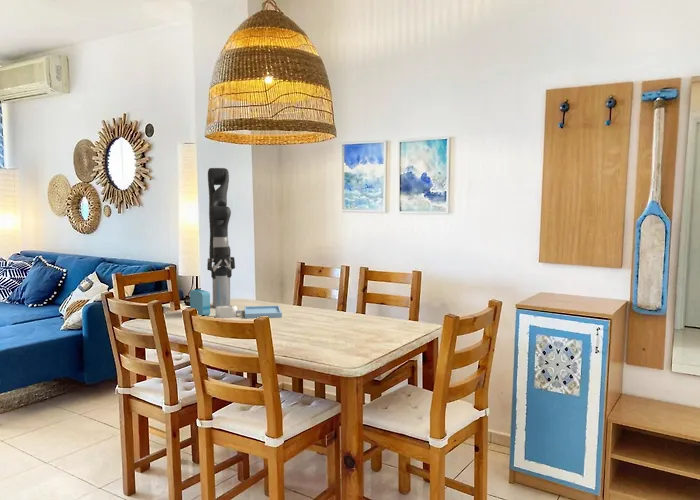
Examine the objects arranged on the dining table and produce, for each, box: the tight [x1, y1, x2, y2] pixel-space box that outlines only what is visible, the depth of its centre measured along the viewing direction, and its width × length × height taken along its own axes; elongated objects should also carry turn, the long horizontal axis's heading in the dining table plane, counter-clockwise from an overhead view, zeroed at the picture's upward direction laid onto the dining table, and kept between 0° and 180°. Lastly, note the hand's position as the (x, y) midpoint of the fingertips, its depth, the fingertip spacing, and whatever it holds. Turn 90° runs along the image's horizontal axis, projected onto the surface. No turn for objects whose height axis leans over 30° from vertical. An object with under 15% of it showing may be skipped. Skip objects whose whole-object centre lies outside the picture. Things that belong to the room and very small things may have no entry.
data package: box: [189, 288, 211, 317], centre depth 273 cm, size 12×4×12 cm, turn 45°
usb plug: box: [215, 305, 243, 319], centre depth 269 cm, size 13×4×5 cm, turn 102°
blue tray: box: [243, 305, 283, 319], centre depth 277 cm, size 18×18×2 cm
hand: (221, 278), depth 273 cm, fingers open, 8 cm apart
